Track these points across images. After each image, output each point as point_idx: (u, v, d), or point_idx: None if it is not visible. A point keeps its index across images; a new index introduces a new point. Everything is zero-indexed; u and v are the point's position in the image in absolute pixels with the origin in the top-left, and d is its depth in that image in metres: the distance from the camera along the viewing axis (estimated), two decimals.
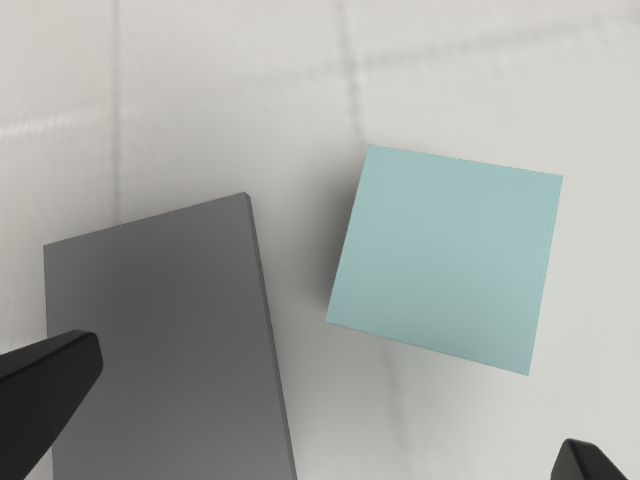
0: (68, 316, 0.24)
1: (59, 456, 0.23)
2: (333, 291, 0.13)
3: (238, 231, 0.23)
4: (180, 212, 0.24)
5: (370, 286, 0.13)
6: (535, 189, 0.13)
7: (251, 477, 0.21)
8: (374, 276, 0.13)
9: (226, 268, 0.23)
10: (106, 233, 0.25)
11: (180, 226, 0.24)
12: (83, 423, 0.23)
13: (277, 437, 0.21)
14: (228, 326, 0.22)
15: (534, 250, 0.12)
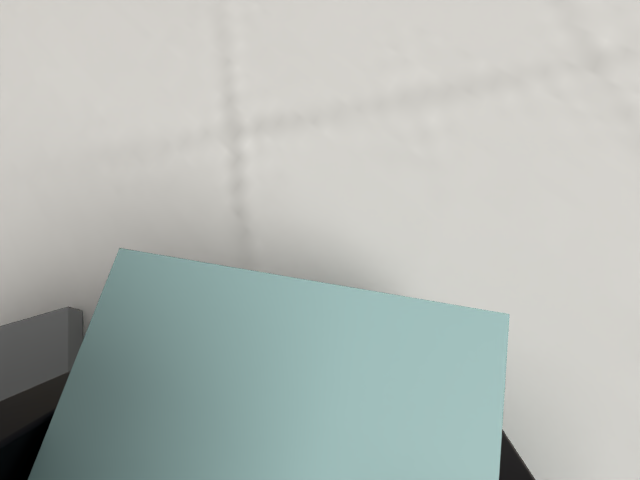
0: None
1: None
2: None
3: (49, 369, 0.15)
4: None
5: None
6: (451, 347, 0.06)
7: None
8: None
9: None
10: None
11: None
12: None
13: None
14: None
15: None
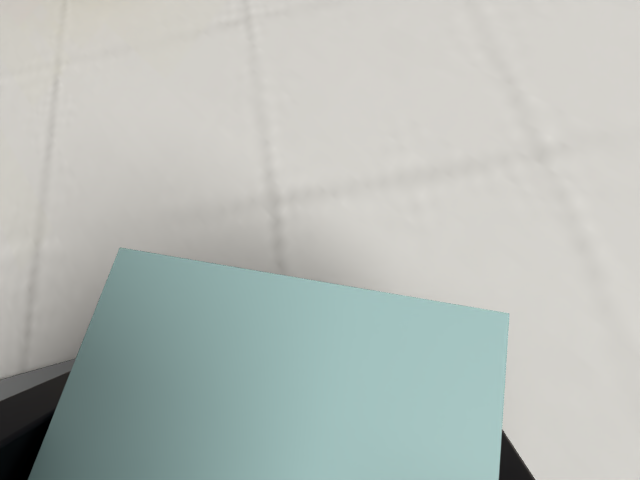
0: None
1: None
2: None
3: None
4: None
5: None
6: (450, 345, 0.06)
7: None
8: None
9: None
10: (7, 383, 0.23)
11: None
12: None
13: None
14: None
15: None
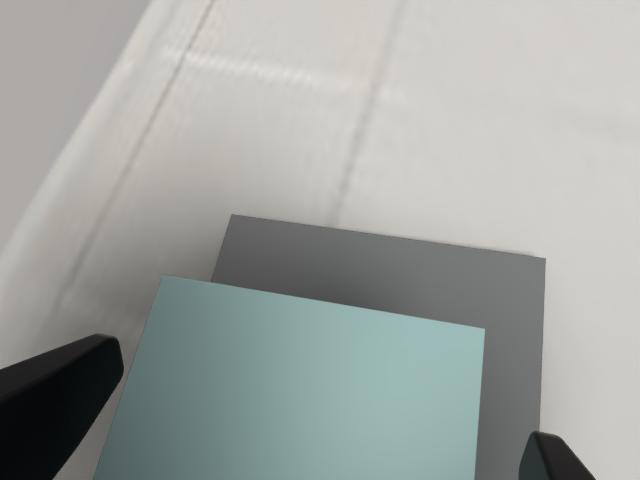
0: None
1: None
2: None
3: (522, 309, 0.16)
4: (438, 248, 0.17)
5: None
6: (438, 355, 0.07)
7: None
8: None
9: (490, 356, 0.15)
10: (321, 233, 0.18)
11: (432, 266, 0.17)
12: None
13: None
14: None
15: None
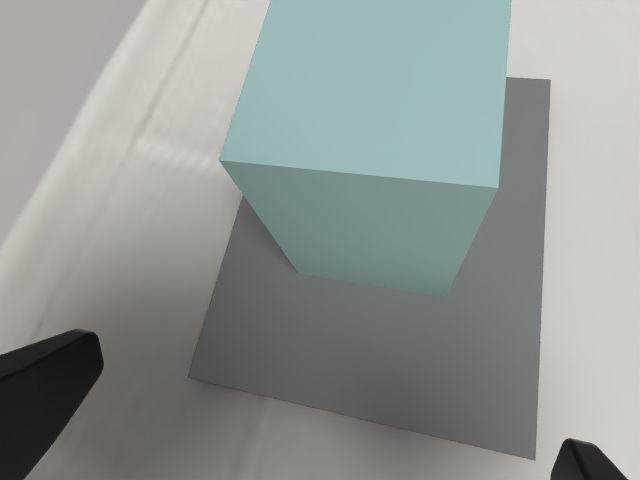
0: None
1: (225, 283, 0.18)
2: (232, 125, 0.10)
3: (531, 116, 0.19)
4: None
5: (280, 112, 0.10)
6: None
7: (476, 399, 0.15)
8: (285, 100, 0.10)
9: (505, 150, 0.18)
10: None
11: None
12: (267, 258, 0.18)
13: (527, 363, 0.15)
14: (490, 213, 0.18)
15: (488, 47, 0.10)
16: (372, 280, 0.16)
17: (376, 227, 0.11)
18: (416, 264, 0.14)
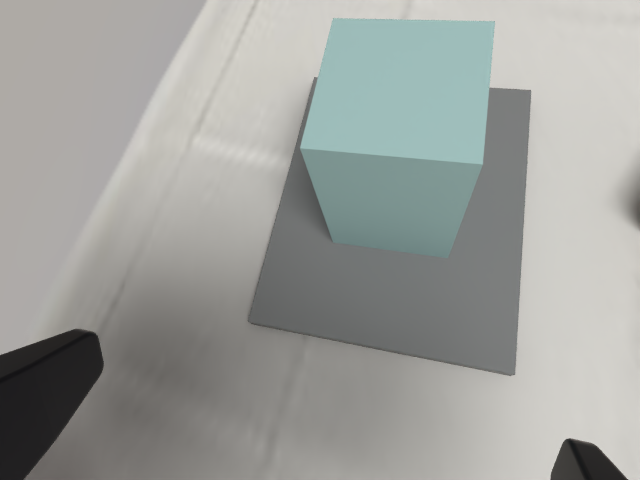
0: None
1: (274, 250, 0.23)
2: (307, 125, 0.15)
3: (515, 119, 0.24)
4: None
5: (339, 116, 0.15)
6: (473, 32, 0.15)
7: (471, 332, 0.20)
8: (342, 109, 0.15)
9: (494, 146, 0.23)
10: None
11: None
12: (307, 230, 0.23)
13: (510, 306, 0.20)
14: (482, 195, 0.22)
15: (477, 74, 0.15)
16: (391, 245, 0.21)
17: (400, 196, 0.16)
18: (427, 227, 0.19)
